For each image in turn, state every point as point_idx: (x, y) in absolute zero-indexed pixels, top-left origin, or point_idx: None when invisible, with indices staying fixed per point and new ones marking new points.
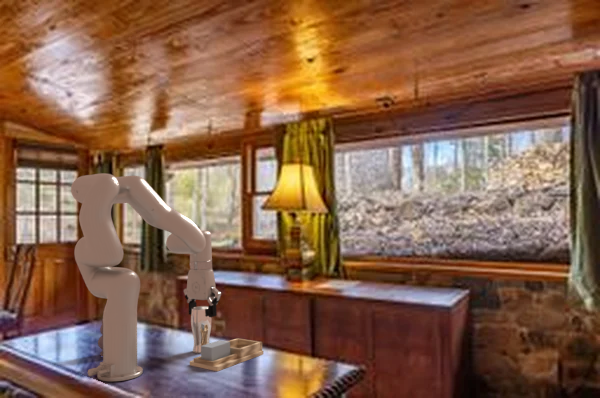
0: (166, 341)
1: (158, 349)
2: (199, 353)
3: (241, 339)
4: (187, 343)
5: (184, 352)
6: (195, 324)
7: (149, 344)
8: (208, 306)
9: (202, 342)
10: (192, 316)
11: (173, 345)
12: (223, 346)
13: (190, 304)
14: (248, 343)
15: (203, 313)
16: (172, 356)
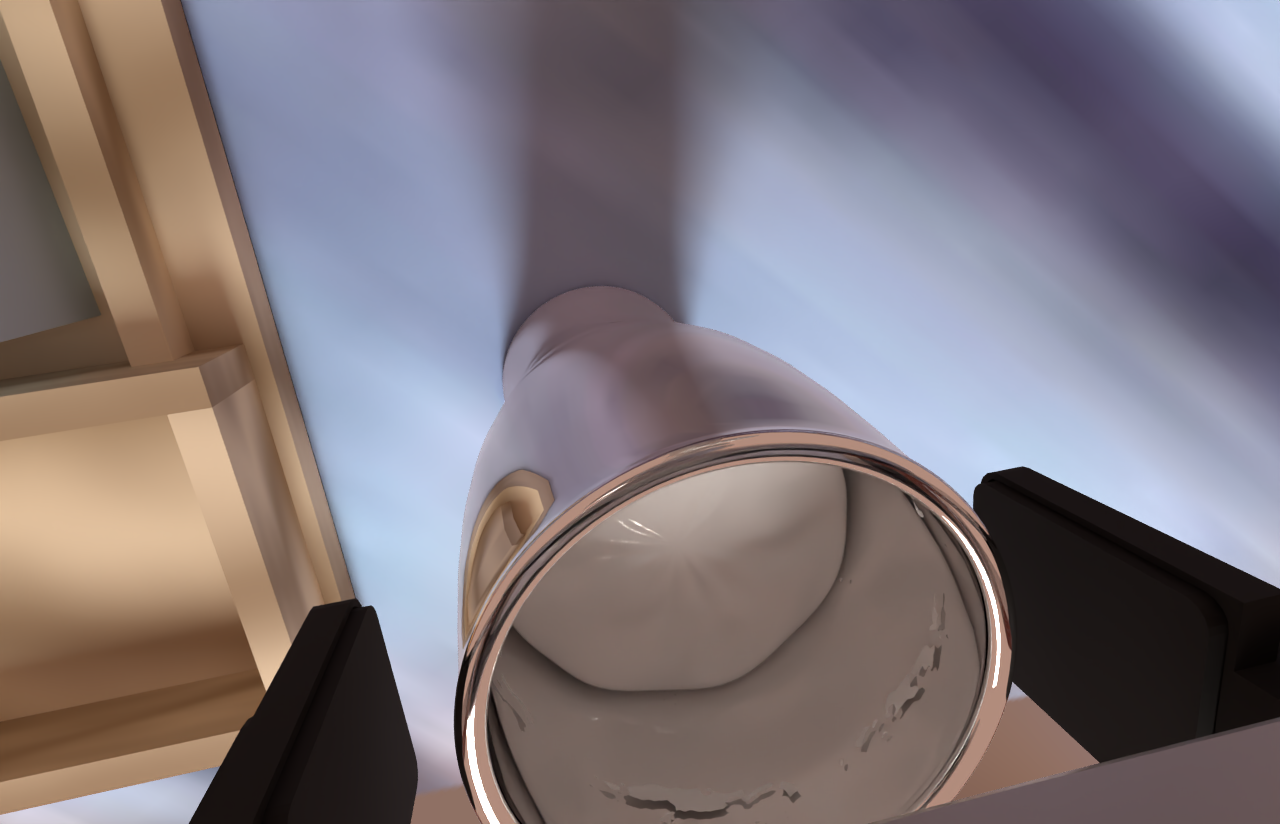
0: (1190, 370)
1: (1041, 121)
2: (538, 310)
3: (223, 741)
4: (962, 462)
5: (712, 231)
6: (602, 338)
7: (1260, 186)
8: (291, 816)
9: (527, 369)
10: (737, 361)
11: (1024, 326)
12: None
13: (1188, 609)
14: (108, 738)
15: (472, 559)
16: (682, 28)
